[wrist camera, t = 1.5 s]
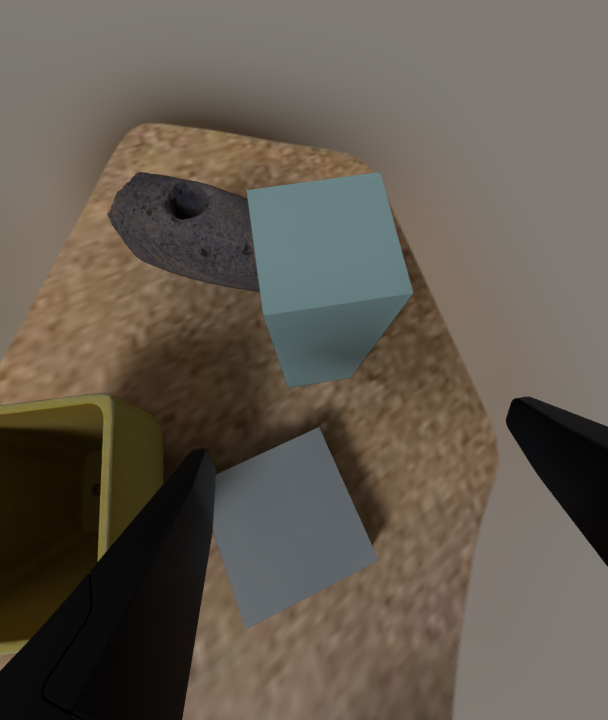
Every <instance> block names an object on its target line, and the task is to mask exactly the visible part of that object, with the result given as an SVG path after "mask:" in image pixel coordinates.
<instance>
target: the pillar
mask: <svg viewBox="0 0 608 720" xmlns="http://www.w3.org/2000/svg"><path fill="white" fill-rule="evenodd" d="M247 197H248V205H249V212H250V220H251V227H252V235H253V242H254V250H255V257H256V265H257V272H258V279H259V287H260V294H261V302H262V309H263V316H264V319H265V322H266V325H267V328H268V331H269V333H270V336H271V339H272V342H273V345H274V348H275V351H276V354H277V357H278V360H279V363H280V365H281V368H282V371H283V374H284V377H285V380H286V383H287V386H288V388H290V387H296V386H302V385H309V384H315V383H321V382H328V381H334V380H340V379H347V378H351V376H352V375H353V374H354V372H355V371H356V369H357V368H358V367H359V365H360V364H361V363H362V361H363V360H364V359H365V357H366V356H367V355H368V353H369V352H370V351H371V349H372V348H373V347H374V345H375V344H376V343H377V341H378V340H379V339H380V337H381V336H382V335H383V333H384V332H385V331H386V329H387V328H388V327H389V325H390V324H391V323H392V321H393V320H394V319H395V317H396V316H397V315H398V313H399V312H400V311H401V309H402V308H403V307H404V305H405V304H406V302H407V301H408V300H409V298H410V297H411V296H412V294H413V290H412V286H411V283H410V279H409V275H408V272H407V268H406V264H405V261H404V257H403V254H402V250H401V246H400V243H399V239H398V235H397V232H396V228H395V225H394V221H393V217H392V214H391V210H390V206H389V203H388V199H387V196H386V192H385V188H384V185H383V181H382V178H381V174H380V173H371V174H364V175H356V176H349V177H341V178H334V179H326V180H319V181H312V182H304V183H297V184H289V185H282V186H274V187H267V188H259V189H252V190H247Z"/></svg>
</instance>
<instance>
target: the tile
mask: <svg viewBox="0 0 608 720" xmlns="http://www.w3.org/2000/svg"><path fill="white" fill-rule="evenodd" d="M213 532H214V535H215V538H216V541H217V544H218V547H219V550H220V553H221V556H222V559H223V562H224V565H225V568H226V571H227V574H228V577H229V580H230V583H231V586H232V589H233V592H234V595H235V598H236V601H237V604H238V607H239V610H240V613H241V616H242V619H243V622H244V625H245V628H246V629H247V628H249V627H251V626H253V625H255V624H257V623H259V622H261V621H263V620H265V619H267V618H269V617H270V616H272V615H274V614H276V613H278V612H280V611H282V610H284V609H286V608H288V607H290V606H292V605H294V604H296V603H297V602H299V601H301V600H303V599H305V598H307V597H309V596H311V595H313V594H315V593H317V592H319V591H321V590H323V589H324V588H326V587H328V586H330V585H332V584H334V583H336V582H338V581H340V580H342V579H344V578H346V577H348V576H350V575H351V574H353V573H355V572H357V571H359V570H361V569H363V568H365V567H367V566H369V565H371V564H373V563H375V562H377V561H378V558H377V555H376V553H375V551H374V549H373V546H372V544H371V542H370V540H369V537H368V535H367V533H366V531H365V529H364V526H363V524H362V522H361V520H360V517H359V515H358V513H357V511H356V508H355V506H354V504H353V502H352V499H351V497H350V495H349V493H348V491H347V488H346V486H345V484H344V482H343V479H342V477H341V475H340V473H339V470H338V468H337V466H336V464H335V462H334V459H333V457H332V455H331V453H330V450H329V448H328V446H327V444H326V441H325V439H324V437H323V435H322V432H321V430H320V428H319V427H318V428H316V429H314V430H312V431H309V432H307V433H305V434H303V435H301V436H299V437H296V438H294V439H292V440H290V441H288V442H286V443H283V444H281V445H279V446H277V447H275V448H272V449H270V450H268V451H266V452H264V453H262V454H259V455H257V456H255V457H253V458H251V459H249V460H246V461H244V462H242V463H240V464H238V465H235V466H233V467H231V468H229V469H227V470H225V471H222V472H220V473H218V474H216V482H215V501H214V520H213Z"/></svg>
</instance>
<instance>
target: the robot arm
mask: <svg viewBox="0 0 608 720" xmlns="http://www.w3.org/2000/svg"><path fill="white" fill-rule="evenodd" d="M506 424H507V427H508V429H509V430H510V432H511V433H512V435H513V437H514V438H515V440H516V441H517V443H518V444H519V446H520V448H521V449H522V451H523V452H524V454H525V456H526V457H527V459H528V460H529V462H530V464H531V465H532V467H533V468H534V470H535V471H536V473H537V474H538V476H539V477H540V478H541V480H542V481H543V483H544V484H545V485H546V487H547V488H548V489H549V490H550V492H551V493H552V494H553V496H554V497H555V498H556V500H557V501H558V502H559V503H560V505H561V506H562V507H563V509H564V510H565V511H566V513H567V514H568V515H569V517H570V518H571V519H572V521H573V522H574V523H575V525H576V526H577V527H578V528H579V530H580V531H581V532H582V534H583V535H584V536H585V538H586V539H587V540H588V541H589V543H590V544H591V545H592V547H593V548H594V549H595V551H596V552H597V553H598V555H599V556H600V557H601V559H602V560H603V561H604V562H605V564H606V565H607V566H608V427H607V426H605V425H602V424H600V423H597V422H594V421H592V420H589V419H586V418H584V417H581V416H579V415H576V414H573V413H571V412H568V411H566V410H563V409H560V408H558V407H555V406H552V405H550V404H547V403H545V402H542V401H540V400H537V399H534V398H532V397H522V398H515V399H513V400H512V402H511V405H510V408H509V411H508V415H507V418H506ZM215 482H216V470H215V466H214V463H213V460H212V458H211V455H210V453H209V451H208V449H207V448H199V449H194V450H192V451H190V453H189V454H188V455H187V456H186V457H185V458H184V460H183V461H182V462H181V463H180V464H179V466H178V467H177V468H176V469H175V470H174V472H173V473H172V474H171V475H170V476H169V477H168V479H167V480H166V481H165V482H164V483H163V485H162V486H161V487H160V488H159V489H158V491H157V492H156V493H155V494H154V495H153V497H152V498H151V499H150V500H149V501H148V502H147V504H146V505H145V506H144V507H143V508H142V510H141V511H140V512H139V513H138V514H137V516H136V517H135V518H134V519H133V520H132V521H131V523H130V524H129V525H128V526H127V527H126V529H125V530H124V531H123V532H122V533H121V535H120V536H119V537H118V538H117V539H116V541H115V542H114V543H113V544H112V545H111V546H110V548H109V549H108V550H107V551H106V552H105V554H104V555H103V556H102V557H101V558H100V560H99V561H98V562H97V563H96V564H95V565H94V567H93V568H92V569H91V571H90V573H89V574H87V575H86V576H85V577H84V578H83V580H82V581H81V582H80V583H79V584H78V586H77V587H76V588H75V589H74V590H73V591H72V593H71V594H70V595H69V596H68V597H67V598H66V600H65V601H64V602H63V603H62V604H61V605H60V606H59V608H58V609H57V610H56V611H55V612H54V613H53V614H52V616H51V617H50V618H49V619H48V620H47V621H46V622H45V623H44V625H43V626H42V627H41V628H40V629H39V630H38V631H37V632H36V633H35V634H34V635H33V636H32V638H31V639H30V640H29V641H28V642H27V643H26V644H25V645H24V646H23V647H22V648H21V650H20V651H19V652H18V653H17V654H16V655H15V656H14V657H13V658H12V659H11V660H10V661H9V662H8V663H7V664H6V665H5V667H4V668H3V669H2V670H1V671H0V720H182V717H183V711H184V705H185V699H186V693H187V686H188V680H189V674H190V668H191V662H192V656H193V649H194V643H195V637H196V631H197V625H198V619H199V612H200V606H201V600H202V594H203V588H204V582H205V575H206V569H207V563H208V557H209V551H210V544H211V538H212V531H213V520H214V501H215Z"/></svg>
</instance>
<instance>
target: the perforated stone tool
mask: <svg viewBox="0 0 608 720" xmlns="http://www.w3.org/2000/svg"><path fill="white" fill-rule="evenodd" d="M111 207H112V209H111V210H110V212H109V213H108V217H109V219H110V222H111V224H112V226H113V227H114V228H115V230H116V231H117V232H118V234H119V235H120V236H121V238H122V239H123V241H124V243H125V244H126V245H127V246H128V248H129V249H131V251H132V252H133V254H134V255H135V256H136V257H138V258H139V259H140V260H142V261H143V262H146V263H148V264H150V265H153V266H155V267H158V268H161V269H163V270H166V271H168V272H171V273H175V274H178V275H181V276H184V277H187V278H191V279H194V280H198V281H202V282H207V283H211V284H215V285H221V286H225V287H231V288H237V289H245V290H251V291H260V287H259V279H258V272H257V265H256V257H255V250H254V242H253V235H252V227H251V220H250V212H249V205H248V199H246V198H243V197H241V196H238V195H235V194H233V193H230V192H227V191H225V190H222V189H219V188H216V187H214V186H211V185H208V184H204V183H201V182H196V181H190V180H185V179H179V178H174V177H170V176H165V175H157V174H149V173H143V172H139V173H137V174H135V176H133V178H131V180H130V182H128V183H126V185H125V186H124V187H123V189H121V190H120V191H118V192H117V194H116V196H115V198H114V203H113V205H112V206H111Z"/></svg>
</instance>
